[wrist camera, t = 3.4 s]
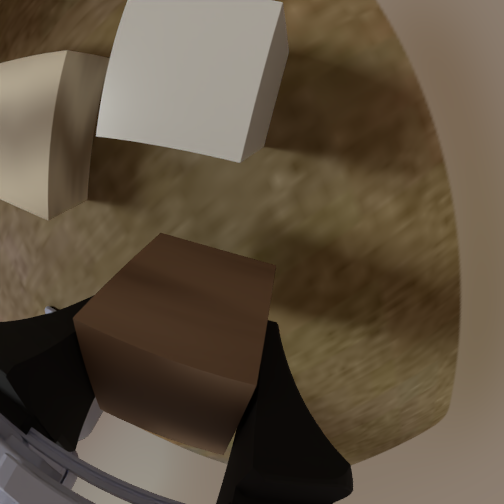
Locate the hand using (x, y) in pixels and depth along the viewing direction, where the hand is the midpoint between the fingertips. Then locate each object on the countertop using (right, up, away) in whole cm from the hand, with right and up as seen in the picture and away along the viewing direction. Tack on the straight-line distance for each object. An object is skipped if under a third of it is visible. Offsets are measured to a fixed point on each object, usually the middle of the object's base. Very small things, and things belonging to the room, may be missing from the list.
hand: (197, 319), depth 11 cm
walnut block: (0, +1, +1) cm, 2 cm away
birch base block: (-11, +11, +3) cm, 16 cm away
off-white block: (+1, +11, +1) cm, 11 cm away
